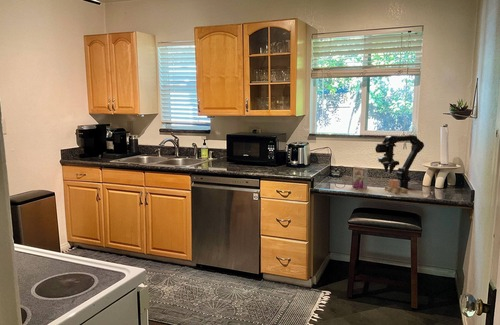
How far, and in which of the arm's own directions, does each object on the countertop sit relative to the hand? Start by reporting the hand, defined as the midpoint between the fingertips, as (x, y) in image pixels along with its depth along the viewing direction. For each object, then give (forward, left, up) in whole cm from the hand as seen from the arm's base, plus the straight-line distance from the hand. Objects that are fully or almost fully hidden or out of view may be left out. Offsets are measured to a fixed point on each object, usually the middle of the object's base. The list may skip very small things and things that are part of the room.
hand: (388, 172), depth 304 cm
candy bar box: (-10, -18, -13) cm, 24 cm away
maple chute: (+11, 0, -13) cm, 17 cm away
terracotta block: (+7, 0, -12) cm, 14 cm away
